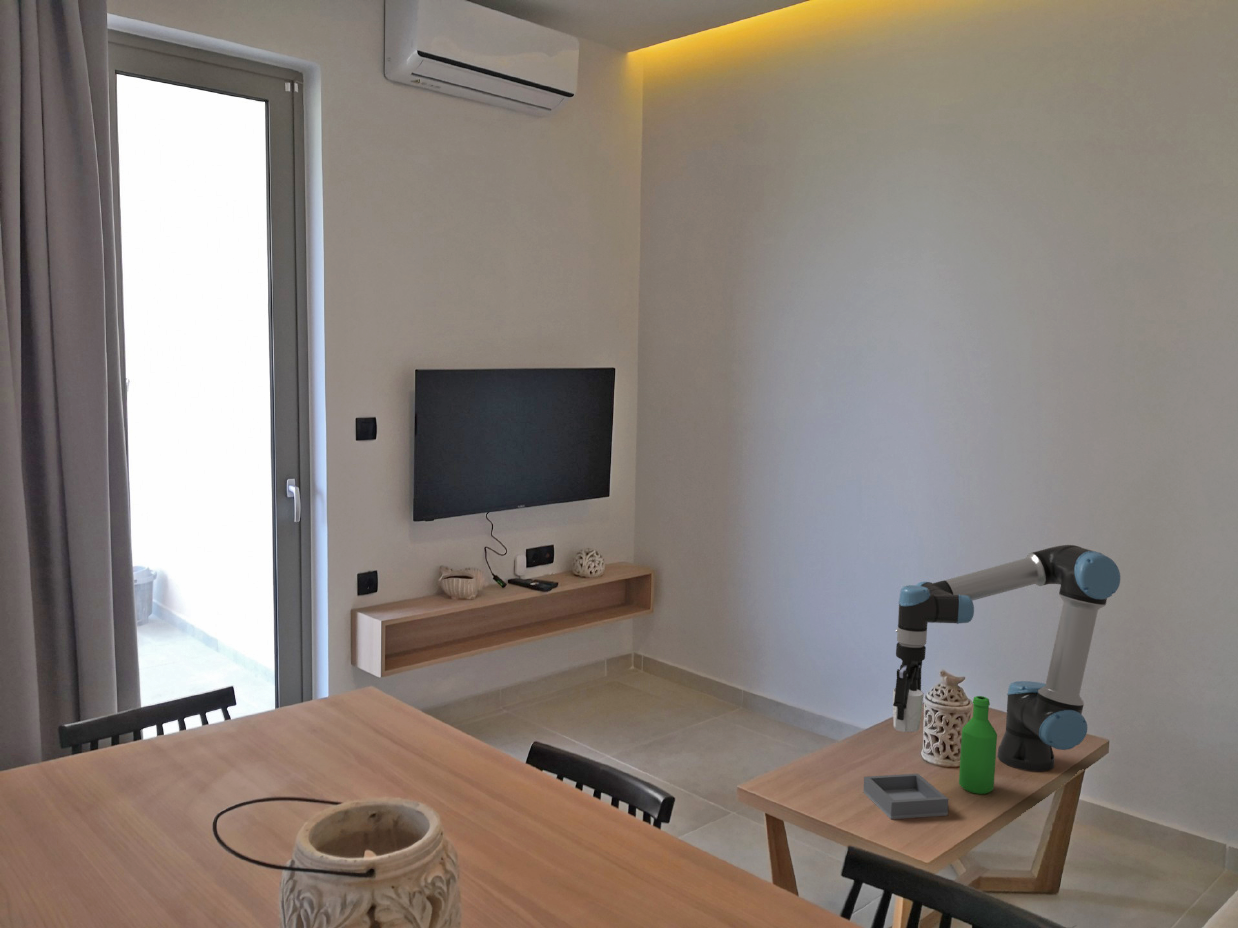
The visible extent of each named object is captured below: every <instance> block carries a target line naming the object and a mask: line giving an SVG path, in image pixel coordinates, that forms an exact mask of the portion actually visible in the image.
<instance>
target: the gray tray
mask: <svg viewBox="0 0 1238 928" xmlns="http://www.w3.org/2000/svg"><path fill="white" fill-rule="evenodd" d="M863 793H864V794H865V795H866V797H867V798H869V800H871V801H872V802H873V803H874V804H875V805H876V807H877V808H878V809H880V810H881V811H882V812H883V813H884V814H885V815H886V816H887V817H888V818H889V819H890V820H901V819H916V817H917V818H928V817H929V818H930V817H942V816H943V817H945V816H948V815H949V801H950V799H949V797H947V796H946V795H945V794H943V793H942V792H941V791H940V790H939V789H938V788H936V787H935V786H934V785H932V784H931V783H930V782H929V781H927V780H926V778H924V777H923V776H922V775H921V774H919V773H904V774H888V775H872V776H871V775H869V776H868V775H867V776H863Z"/></svg>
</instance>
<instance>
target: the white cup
mask: <svg viewBox="0 0 1238 928" xmlns="http://www.w3.org/2000/svg"><path fill="white" fill-rule="evenodd" d="M895 689H896V687H894V688H893V689H892V716H893V717H892V718H893V719H892V720H893V721H892V722H893V723H892V724H893V725H892V726H893V728H895V725H896V710H897V707H895V706H893V704H894V698H895ZM924 694H925V693H924V692H923V691H922V690H921V691H920V690H918V689H917V691H911V690H909V695H908V700H907V707H906V708H908V710H907V726H906V732H905V733H914V732H917V731H919V730H920V727H921V726H920V724H921V718H922V711H923V703H924Z"/></svg>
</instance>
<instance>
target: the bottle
mask: <svg viewBox="0 0 1238 928" xmlns="http://www.w3.org/2000/svg"><path fill="white" fill-rule="evenodd" d="M972 704H973V707H972V708H973V711H972V717H971V718H970V719H969V720H968V722H967V723H966V724H965V725H964V726H963V727H962V729H961V738H960V739H961V740H960V760H959V775H958V784H959V786H961V788H962V789H964V790H965V791H967V792H969V793H972V794H978V795H985V794H988V793H991V792H992V791H994V787H995V772H996V760H997V759H996V758H997V757H996V756H997V744H998V743H997V742H998V734H997V732H996V730H995V728H994V726H993V725H992V723H991V722H990V720H989V708H990V707H989V706H990V704H991V703H990V699H989V698H988V697H985V696H982V695H977V696H974V697H973V699H972Z"/></svg>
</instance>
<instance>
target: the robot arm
mask: <svg viewBox="0 0 1238 928" xmlns="http://www.w3.org/2000/svg"><path fill="white" fill-rule="evenodd" d="M1120 584H1121V572H1120V569H1119V567H1118V565H1117V564H1116V562H1115V561H1114V560H1113V559H1112V558H1110V557H1109V556H1107V555H1105V554H1103V553H1101V552H1098V551H1095V550H1091V549H1088V548H1083V547H1081V546H1078V545H1074V544H1065V545H1064V544H1063V545H1062V544H1061V545H1055V546H1052V547H1048V548H1045V549H1044V548H1043V549H1041V550H1037V551H1033V552H1030V553H1027V555H1026V556H1025V558H1022V559H1018V560H1014V561H1011V562H1008V563H1003V564H999V565H996V566H992V567H987V568H984V569H981V570H977V571H975V572H970V573H966V574H963V575H960V576H956V577H952V578H949V579H945V580H940V581H936V582H931V581H919V582H918V583H917V584H915V585H911V584H909V585H904V586H902V587H901V589H900V592H899V599H898V618H897V619H898V620H897V628H896V629H895V633H897V636H896V641H897V643H896V644H895V645H896V647H895V648H896V649H895V656H896V658H898V659H900V660H901V661H902V662H901V664H900V667H899V669H897V670H896V680H895V688H896V689H895V698H894V704H893V703H892V707H893V706H895V707H897V710H896V725H895V727H894V730H895V731H898V732H901V733H902V732H903V733H907V732H906V726H907V710H908V708H906V707H907V700H908V695H909V690H911V691H917V689H918V690H920V691H922V666H923V661H924V660H925V659H926V649H927V647H926V646H925V645H926V644H927V639H928V637H927V636H928V623H930V624H933V623H934V624H956V625H959V624H967V623H970V622H971V621H972V620H973V618H974V613H975V605H974V602H973V601H976V600H979V599H983V598H988V597H991V596H995V595H998V594H1003V593H1006V592H1010V591H1013V590H1017V589H1020V588H1025V587H1028V586H1032V585H1037V586H1039V587H1043V586H1046V585H1060V586H1059V587H1060V588H1059V593H1058V596H1059V597H1060V599H1062V602H1063V603H1062V607H1061V608H1062V609H1061V612H1060V616H1059V622H1058V625H1057V626H1058V627H1057V631H1056V634H1055V639H1054V644H1053V648H1052V654H1051V659H1050V662H1049V668H1048V671H1047V677H1046V681H1045V682H1038V681H1027V680H1022V681H1021V680H1020V681H1019V680H1018V681H1013V682H1010V684H1009V686H1008V691H1007V705H1006V723H1005V733H1004V734H1003V736H1002V739H1001V740H1000V744H999V746H998V749H997V758H998V760H999V761H1000V762H1002V763H1003V764H1005V765H1007V766H1009V767H1012V768H1016V769H1018V770H1022V771H1023V770H1024V771H1029V772H1045V771H1050V770H1052V769H1054V767H1055V761H1056V760H1055V759H1056V758H1055V755H1054V751H1053V749H1056V750H1061V751H1065V750H1071V749H1074V748H1075V747H1076V746H1079V745H1080V744H1081V743H1082V742H1083V741H1084V739H1085V738H1086V736H1087V734H1088V722H1087V721H1086V719H1085V717H1084V716H1083V714H1082V713H1083V710H1084V709H1083V708H1084V706H1085V702H1084V700H1083V699H1082V697H1081V695H1080V694H1081V690H1082V685H1083V680H1084V675H1085V671H1086V667H1087V666H1086V665H1087V662H1088V658H1089V652H1090V649H1091V643H1092V639H1093V635H1094V631H1095V630H1094V629H1095V626H1096V621H1097V617H1098V616H1097V615H1098V613H1099V610H1100V609H1102V608H1103V607H1106V604H1107V600H1108V598H1111V597H1112V596H1113V594H1115V593H1116V592H1117V591H1118V589H1119V587H1120Z"/></svg>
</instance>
